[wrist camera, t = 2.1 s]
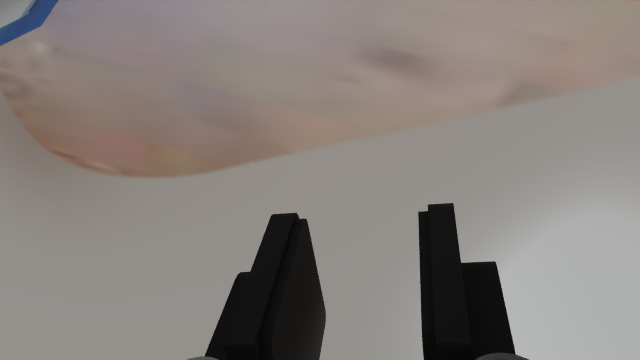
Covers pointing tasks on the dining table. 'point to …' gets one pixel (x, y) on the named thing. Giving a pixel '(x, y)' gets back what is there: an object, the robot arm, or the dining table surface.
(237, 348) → the robot arm
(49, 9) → the milk carton
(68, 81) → the dining table surface
